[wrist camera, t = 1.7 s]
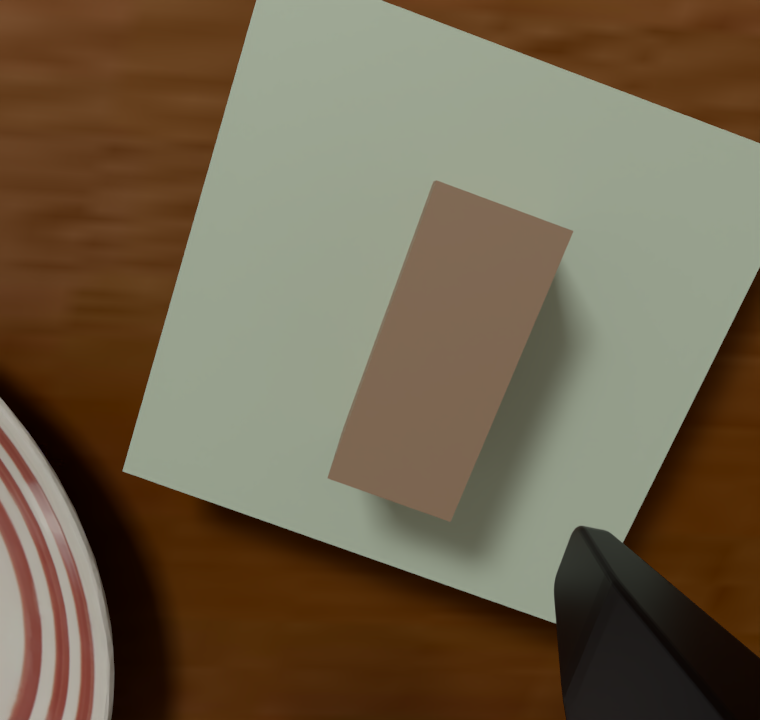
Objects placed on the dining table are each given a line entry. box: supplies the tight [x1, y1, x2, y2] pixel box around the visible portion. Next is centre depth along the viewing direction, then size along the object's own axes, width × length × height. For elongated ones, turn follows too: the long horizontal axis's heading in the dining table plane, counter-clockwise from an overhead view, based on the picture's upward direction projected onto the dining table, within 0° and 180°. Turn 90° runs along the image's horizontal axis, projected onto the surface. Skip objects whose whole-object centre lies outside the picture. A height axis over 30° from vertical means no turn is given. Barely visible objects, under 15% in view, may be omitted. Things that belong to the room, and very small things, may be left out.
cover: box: [123, 0, 760, 624], centre depth 17 cm, size 14×14×4 cm
